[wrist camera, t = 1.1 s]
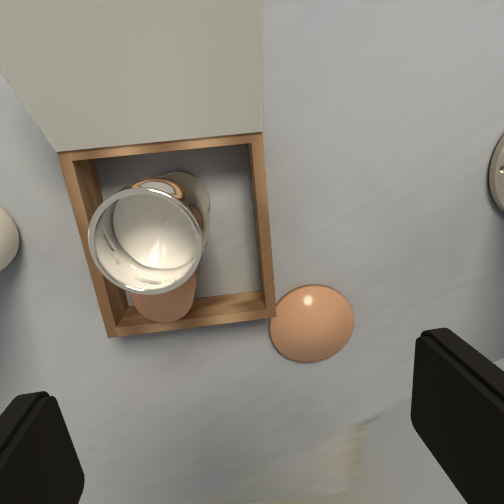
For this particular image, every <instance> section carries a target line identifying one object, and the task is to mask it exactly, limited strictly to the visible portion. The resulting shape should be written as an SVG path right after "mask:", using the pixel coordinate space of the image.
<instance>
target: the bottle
mask: <svg viewBox="0 0 504 504" xmlns="http://www.w3.org/2000/svg"><path fill="white" fill-rule="evenodd" d="M18 248H19V233H18V230H17V227H16V225H15V223H14V221H13V220H12V218H11V217H10V216H9V215H8V214H7V212H6V211H5V210H3V209H2V208H1V207H0V271H1V270H2V269H4V268H5V267H6V266H7V265H8V264H9V263H10V262H11V261H12V260H13V258H14V257H15V256H16V254H17V251H18Z"/></svg>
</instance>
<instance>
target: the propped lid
mask: <svg viewBox="0 0 504 504" xmlns="http://www.w3.org/2000/svg"><path fill="white" fill-rule="evenodd" d="M0 72H1V73H2V75H3V76H4V77H5V79H6V80H7V82H8V83H9V85H10V86H11V88H12V89H13V91H14V92H15V94H16V95H17V96H18V98H19V99H20V101H21V102H22V104H23V105H24V107H25V108H26V110H27V111H28V112H29V114H30V115H31V117H32V118H33V120H34V121H35V123H36V124H37V126H38V127H39V128H40V130H41V131H42V133H43V134H44V136H45V137H46V139H47V140H48V142H49V143H50V145H51V146H52V147H53V149H54V150H55V152H60V151H70V150H80V149H91V148H101V147H111V146H121V145H131V144H141V143H152V142H162V141H172V140H182V139H192V138H203V137H213V136H223V135H233V134H243V133H253V132H263V0H0Z"/></svg>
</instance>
